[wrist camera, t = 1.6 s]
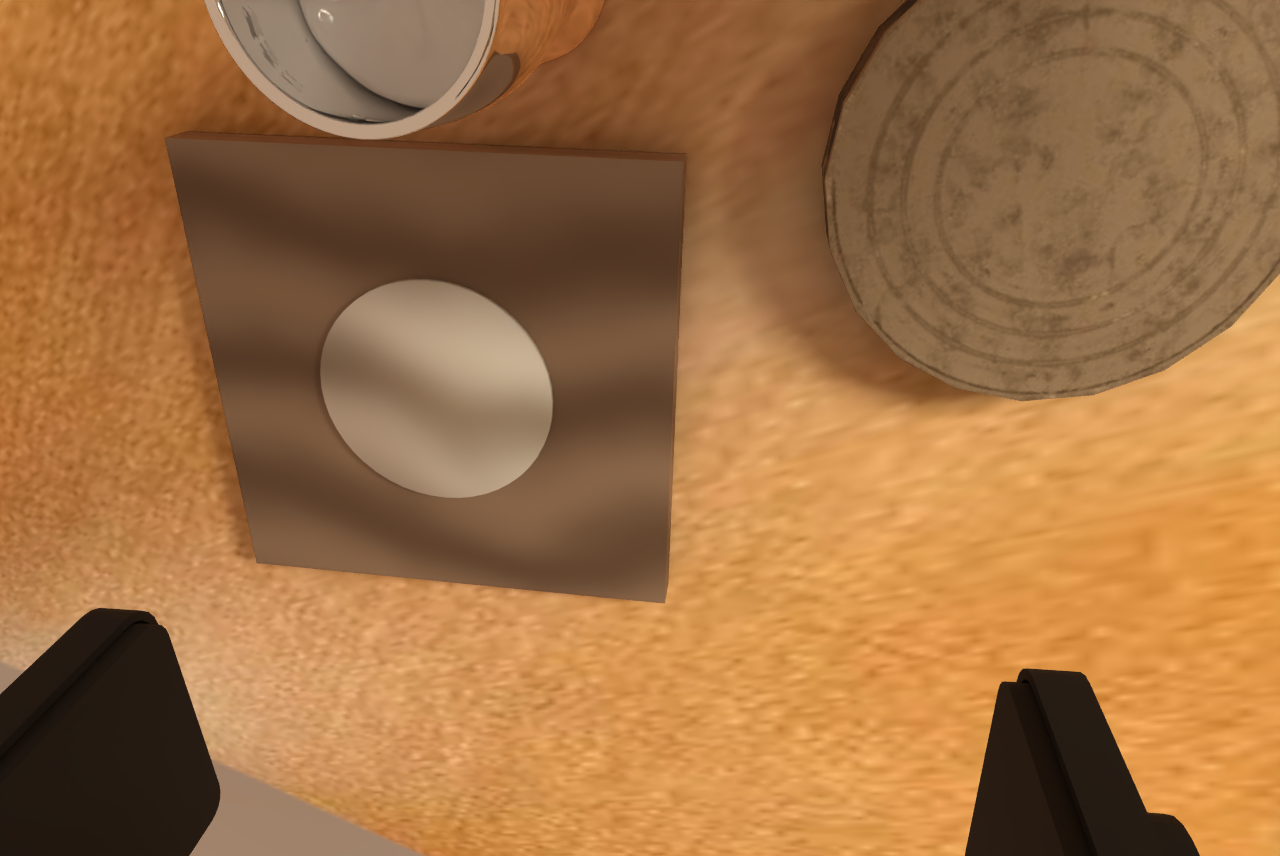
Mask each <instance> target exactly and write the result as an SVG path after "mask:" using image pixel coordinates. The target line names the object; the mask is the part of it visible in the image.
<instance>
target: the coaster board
mask: <svg viewBox="0 0 1280 856" xmlns="http://www.w3.org/2000/svg"><path fill="white" fill-rule="evenodd" d="M165 141H166V145H167V150H168V155H169V159H170V164H171V169H172V173H173V178H174V182H175V187H176V192H177V196H178V201H179V206H180V210H181V215H182V219H183V224H184V229H185V233H186V238H187V243H188V247H189V252H190V256H191V261H192V266H193V270H194V275H195V279H196V284H197V289H198V293H199V298H200V303H201V307H202V312H203V316H204V321H205V326H206V330H207V335H208V340H209V344H210V349H211V353H212V358H213V363H214V367H215V372H216V377H217V381H218V386H219V390H220V395H221V400H222V404H223V409H224V414H225V418H226V423H227V427H228V432H229V437H230V441H231V446H232V451H233V455H234V460H235V464H236V469H237V474H238V478H239V483H240V488H241V492H242V497H243V501H244V506H245V511H246V515H247V520H248V524H249V529H250V534H251V538H252V543H253V548H254V552H255V557H256V561H257V563H263V564H273V565H283V566H293V567H303V568H313V569H323V570H333V571H343V572H353V573H363V574H373V575H383V576H394V577H404V578H414V579H424V580H434V581H444V582H454V583H464V584H474V585H484V586H494V587H504V588H514V589H524V590H535V591H545V592H555V593H565V594H575V595H585V596H595V597H605V598H615V599H625V600H635V601H645V602H655V603H665V599H666V593H667V587H668V574H669V550H670V526H671V503H672V479H673V455H674V432H675V408H676V384H677V361H678V337H679V313H680V290H681V266H682V242H683V219H684V195H685V171H686V154H676V153H654V152H632V151H610V150H587V149H565V148H543V147H521V146H499V145H477V144H455V143H433V142H410V141H388V140H362V139H344V138H322V137H300V136H278V135H256V134H234V133H211V132H189V131H187V132H183V133H180V134H176V135H173V136H169V137H166V138H165Z"/></svg>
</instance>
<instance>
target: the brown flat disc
mask: <svg viewBox="0 0 1280 856" xmlns="http://www.w3.org/2000/svg"><path fill="white" fill-rule="evenodd" d="M822 176H823V191H824V205H825V219H826V232H827V237H828V242H829V247H830V251H831V254H832V256H833V258H834V261H835V263H836V265H837V268H838V270H839V273H840V275H841V277H842V280H843V282H844V284H845V287H846V289H847V291H848V294H849V296H850V298H851V301H852V303H853V305H854V308H855V310H856V312H857V313H858V314H859V315H860V316H861V317H862V318H863V319H864V320H865V321H866V322H867V324H868V325H869V326H870V327H871V328H872V329H873V330H874V331H875V332H876V333H877V334H878V335H879V337H880V338H881V339H882V340H883V341H884V342H885V343H886V344H887V345H888V346H889V347H890V348H891V350H892V351H893V352H894V353H895V354H896V355H897V356H898V357H899V358H901V359H902V360H904V361H906V362H908V363H910V364H912V365H914V366H915V367H917V368H919V369H921V370H923V371H925V372H926V373H928V374H930V375H932V376H934V377H936V378H938V379H939V380H941V381H943V382H945V383H947V384H949V385H950V386H952V387H954V388H957V389H962V390H967V391H972V392H978V393H983V394H988V395H993V396H998V397H1003V398H1008V399H1014V400H1019V401H1029V400H1041V399H1053V398H1065V397H1077V396H1089V395H1095V394H1098V393H1100V392H1103V391H1106V390H1109V389H1112V388H1115V387H1118V386H1120V385H1123V384H1126V383H1129V382H1132V381H1135V380H1138V379H1141V378H1143V377H1146V376H1149V375H1152V374H1155V373H1158V372H1161V371H1163V370H1165V369H1167V368H1169V367H1170V366H1172V365H1173V364H1175V363H1176V362H1178V361H1179V360H1181V359H1182V358H1184V357H1185V356H1187V355H1188V354H1190V353H1191V352H1193V351H1194V350H1196V349H1198V348H1199V347H1201V346H1202V345H1204V344H1205V343H1207V342H1208V341H1210V340H1211V339H1213V338H1214V337H1216V336H1217V335H1219V334H1220V333H1222V332H1223V331H1225V330H1226V329H1228V328H1230V327H1231V326H1232V325H1233V324H1234V323H1235V322H1236V321H1237V320H1238V319H1239V317H1240V316H1241V315H1242V314H1243V313H1244V312H1245V311H1246V310H1247V309H1248V308H1249V307H1250V305H1251V304H1252V303H1253V302H1254V301H1255V300H1256V299H1257V298H1258V297H1259V296H1260V295H1261V293H1262V292H1263V291H1264V290H1265V289H1266V288H1267V287H1268V286H1269V285H1270V284H1271V283H1272V281H1273V280H1274V279H1275V278H1276V277H1277V276H1278V275H1279V274H1280V0H907V1H906V2H905V3H904V4H903V5H901V6H900V7H899V8H898V9H897V10H896V11H895V12H894V13H893V14H892V15H891V16H890V17H889V18H888V19H887V20H886V21H885V22H884V23H883V24H882V25H880V26H879V27H878V29H877V31H876V33H875V34H874V36H873V38H872V39H871V41H870V43H869V44H868V46H867V48H866V50H865V51H864V53H863V55H862V56H861V58H860V60H859V62H858V63H857V65H856V67H855V68H854V70H853V72H852V73H851V75H850V77H849V79H848V80H847V82H846V84H845V85H844V87H843V89H842V91H841V92H840V94H839V97H838V101H837V105H836V109H835V113H834V117H833V121H832V125H831V129H830V133H829V137H828V141H827V145H826V150H825V154H824V158H823V162H822Z"/></svg>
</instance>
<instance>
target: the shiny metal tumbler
mask: <svg viewBox="0 0 1280 856" xmlns="http://www.w3.org/2000/svg"><path fill="white" fill-rule="evenodd" d="M204 2H205V4H206V7H207V10H208V13H209V15H210V18H211V20H212V22H213V25H214V27H215V29H216V31H217V33H218V35H219V37H220V39H221V40H222V42H223V44H224V46H225V47H226V49H227V51H228V52H229V54H230V55H231V57H232V58H233V60H234V61H235V63H236V64H237V65H238V67H239V68H240V69H241V70H242V72H243V73H244V74H245V75H246V77H247V78H248V79H249V80H250V81H251V82H252V83H253V84H254V85H255V87H256V88H258V89H259V90H260V91H261V92H262V93H263V94H264V95H265V96H266V97H267V98H268V99H269V100H271V101H272V102H273V103H274V104H276V105H277V106H278V107H279V108H281V109H282V110H284V111H285V112H287V113H288V114H290V115H291V116H293V117H294V118H296V119H298V120H300V121H302V122H303V123H305V124H307V125H309V126H312V127H314V128H316V129H319V130H321V131H324V132H327V133H330V134H333V135H337V136H341V137H346V138H352V139H362V140H381V139H390V138H395V137H400V136H404V135H408V134H410V133H413V132H416V131H418V130H424V129H428V128H432V127H437V126H441V125H445V124H448V123H452V122H455V121H458V120H460V119H463V118H466V117H468V116H471V115H473V114H476V113H478V112H480V111H483V110H485V109H486V108H488V107H490V106H492V105H493V104H495V103H496V102H498V101H499V100H501V99H503V98H504V97H506V96H507V95H509V94H510V93H512V92H513V91H514V90H515V89H517V88H518V87H519V86H520V85H521V84H522V83H523V82H524V81H525V80H526V79H527V78H528V77H529V76H530V75H531V74H532V73H533V71H534V70H535V69H536V68H537V66H538V65H539V64H540V63H543V62H547V61H551V60H554V59H557V58H559V57H561V56H563V55H565V54H567V53H568V52H570V51H571V50H573V49H574V48H575V47H576V46H577V45H579V44H580V43H581V42H582V41H583V40H584V39H585V37H586V36H587V35H588V34H589V32H590V31H591V29H592V28H593V26H594V25H595V23H596V21H597V19H598V17H599V15H600V12H601V10H602V7H603V4H604V0H204Z"/></svg>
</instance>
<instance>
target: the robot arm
mask: <svg viewBox="0 0 1280 856" xmlns="http://www.w3.org/2000/svg"><path fill="white" fill-rule="evenodd" d="M219 801H220V786H219V782H218V779H217V776H216V774H215V771H214V767H213V764H212V761H211V758H210V755H209V752H208V749H207V746H206V744H205V741H204V738H203V735H202V732H201V729H200V726H199V723H198V720H197V717H196V714H195V711H194V708H193V705H192V702H191V699H190V696H189V693H188V690H187V687H186V684H185V681H184V678H183V675H182V672H181V669H180V666H179V664H178V661H177V658H176V655H175V652H174V649H173V646H172V643H171V640H170V637H169V634H168V632H167V630H166V629H165V628H164V627H163V626H162V625H158V623H157V621H156V619H155V617H154V616H153V615H151V614H150V613H149V612H145V611H138V610H122V609H107V608H98V609H94V610H91V611H90V612H88V613H87V614H85V615H84V616H83V617H82V618H81V619H80V620H78V621H77V622H76V623H75V624H74V625H73V626H72V627H71V628H70V629H69V630H68V631H67V632H66V633H65V634H64V635H63V636H62V637H60V638H59V639H58V640H57V641H56V642H55V643H54V644H53V645H52V646H51V647H50V648H49V649H48V650H47V651H46V652H45V653H44V654H42V655H41V656H40V657H39V658H38V659H37V660H36V661H35V662H34V663H33V664H32V665H31V666H30V667H29V668H28V669H27V670H26V671H24V672H23V673H22V674H21V675H20V676H19V677H18V678H17V679H16V680H15V681H14V682H13V683H12V684H11V685H10V686H9V687H8V688H6V690H4V691H3V692H2V693H1V694H0V856H189V855H190V854H191V852H192V851H193V849H194V848H195V846H196V844H197V843H198V841H199V840H200V838H201V837H202V835H203V834H204V832H205V831H206V829H207V827H208V826H209V825H210V823H211V822H212V820H213V818H214V816H215V814H216V811H217V809H218V806H219ZM965 856H1200V855H1199V853H1198V851H1197V848H1196V846H1195V844H1194V842H1193V840H1192V839H1191V837H1190V835H1189V834H1188V832H1187V830H1186V829H1185V827H1184V825H1183V824H1182V823H1181V822H1179V821H1178V820H1177V819H1176V818H1175V817H1174V816H1171V815H1167V814H1159V813H1147V811H1146V809H1145V806H1144V804H1143V802H1142V800H1141V797H1140V795H1139V793H1138V791H1137V788H1136V786H1135V784H1134V782H1133V779H1132V777H1131V775H1130V773H1129V770H1128V768H1127V766H1126V764H1125V761H1124V759H1123V757H1122V755H1121V752H1120V750H1119V748H1118V746H1117V743H1116V741H1115V739H1114V737H1113V734H1112V732H1111V730H1110V728H1109V725H1108V723H1107V721H1106V719H1105V716H1104V714H1103V712H1102V710H1101V707H1100V705H1099V703H1098V701H1097V698H1096V696H1095V694H1094V692H1093V689H1092V687H1091V685H1090V683H1089V681H1088V679H1087V678H1086V676H1085V675H1084V674H1082V673H1081V672H1071V671H1056V670H1041V669H1022V670H1021V672H1020V673H1019V676H1018V679H1017V682H1002V683H1001V684H1000V686H999V690H998V694H997V699H996V704H995V709H994V714H993V719H992V724H991V729H990V734H989V739H988V743H987V748H986V753H985V758H984V763H983V768H982V773H981V778H980V783H979V788H978V793H977V798H976V803H975V808H974V813H973V817H972V822H971V827H970V832H969V837H968V842H967V847H966V852H965Z"/></svg>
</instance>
